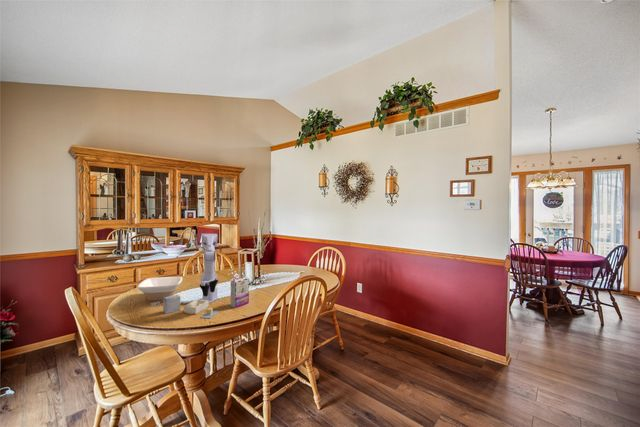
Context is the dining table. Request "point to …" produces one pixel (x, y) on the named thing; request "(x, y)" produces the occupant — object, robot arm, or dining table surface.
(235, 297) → the candy bar box
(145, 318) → the dining table surface
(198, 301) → the box
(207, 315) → the lid
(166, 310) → the medicine box
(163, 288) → the bowl
